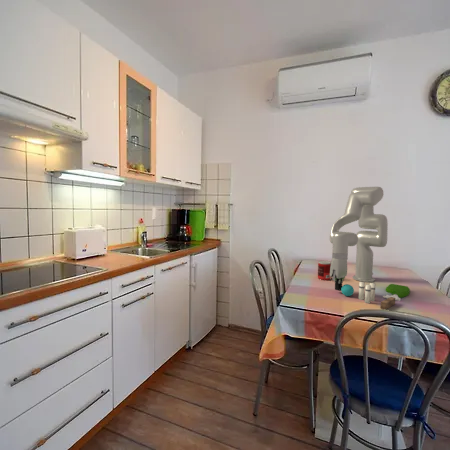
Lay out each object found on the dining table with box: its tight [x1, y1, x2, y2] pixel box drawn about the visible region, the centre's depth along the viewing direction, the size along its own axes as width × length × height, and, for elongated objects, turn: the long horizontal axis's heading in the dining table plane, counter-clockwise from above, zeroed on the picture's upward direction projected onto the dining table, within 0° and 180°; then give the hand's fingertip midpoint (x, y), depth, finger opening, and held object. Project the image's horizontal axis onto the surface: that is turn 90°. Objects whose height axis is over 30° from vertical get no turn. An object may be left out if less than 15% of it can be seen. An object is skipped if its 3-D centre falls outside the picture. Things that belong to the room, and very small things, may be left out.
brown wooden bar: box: [380, 297, 396, 310], centre depth 120 cm, size 12×2×3 cm, turn 129°
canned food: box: [317, 260, 331, 281], centre depth 167 cm, size 8×8×11 cm
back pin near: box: [364, 283, 371, 304], centre depth 125 cm, size 2×2×8 cm
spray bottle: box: [382, 283, 411, 302], centre depth 139 cm, size 3×11×24 cm
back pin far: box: [369, 282, 376, 302], centre depth 128 cm, size 2×2×8 cm
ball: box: [340, 283, 355, 297], centre depth 134 cm, size 6×6×6 cm
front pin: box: [358, 281, 366, 301], centre depth 130 cm, size 2×2×8 cm
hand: (338, 290), depth 139 cm, fingers closed
